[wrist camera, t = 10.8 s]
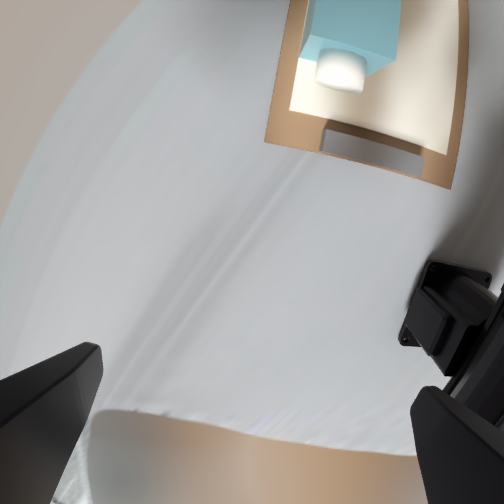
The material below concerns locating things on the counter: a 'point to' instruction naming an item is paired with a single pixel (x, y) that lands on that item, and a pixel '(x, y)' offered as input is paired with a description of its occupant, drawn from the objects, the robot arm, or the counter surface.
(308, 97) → the clipboard
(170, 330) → the counter surface
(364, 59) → the light blue block
